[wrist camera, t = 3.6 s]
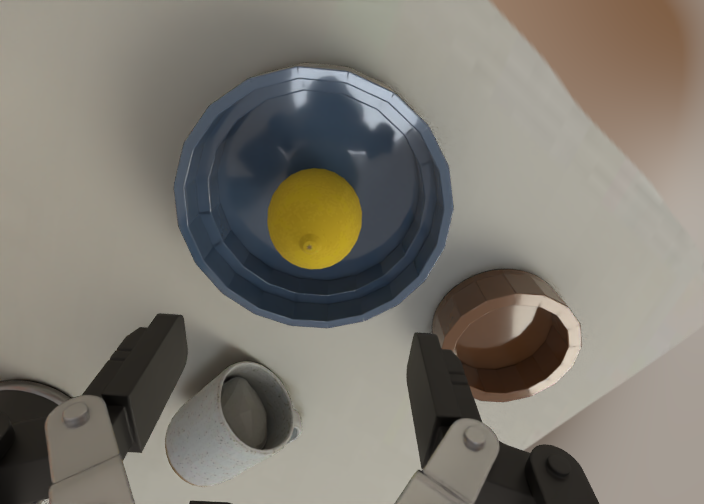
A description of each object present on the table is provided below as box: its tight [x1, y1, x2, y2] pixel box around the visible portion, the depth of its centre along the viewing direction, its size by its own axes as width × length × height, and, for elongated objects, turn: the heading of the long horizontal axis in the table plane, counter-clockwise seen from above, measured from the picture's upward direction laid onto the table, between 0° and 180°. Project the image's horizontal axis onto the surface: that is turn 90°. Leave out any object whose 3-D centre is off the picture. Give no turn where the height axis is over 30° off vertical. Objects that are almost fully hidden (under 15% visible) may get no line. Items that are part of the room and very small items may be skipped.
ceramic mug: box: [165, 361, 302, 487], centre depth 33 cm, size 11×8×8 cm
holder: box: [432, 269, 582, 402], centre depth 32 cm, size 10×10×4 cm
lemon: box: [267, 168, 362, 269], centre depth 24 cm, size 6×6×8 cm
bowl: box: [174, 63, 454, 328], centre depth 26 cm, size 16×16×4 cm
